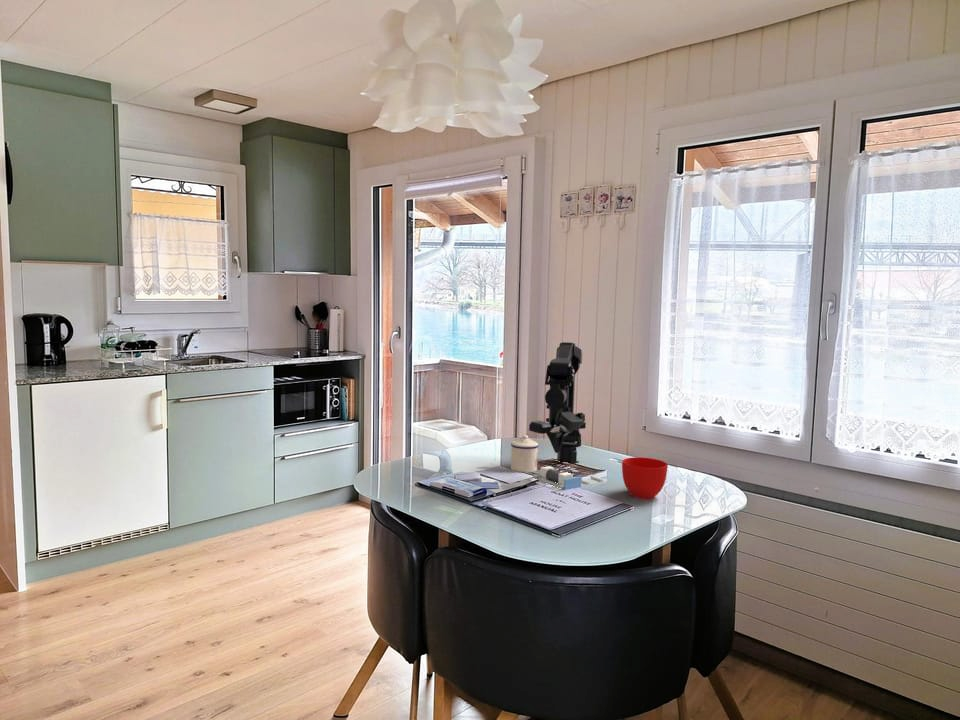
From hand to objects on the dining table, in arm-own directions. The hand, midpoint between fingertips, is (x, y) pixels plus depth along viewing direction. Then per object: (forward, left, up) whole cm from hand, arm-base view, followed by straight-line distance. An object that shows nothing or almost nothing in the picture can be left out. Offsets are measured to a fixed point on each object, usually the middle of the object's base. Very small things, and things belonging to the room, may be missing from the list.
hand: (556, 452), depth 210 cm
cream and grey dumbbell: (0, 0, -9) cm, 9 cm away
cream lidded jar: (-19, +2, -10) cm, 22 cm away
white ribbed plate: (0, +5, -10) cm, 11 cm away
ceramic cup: (+22, +15, -10) cm, 28 cm away
